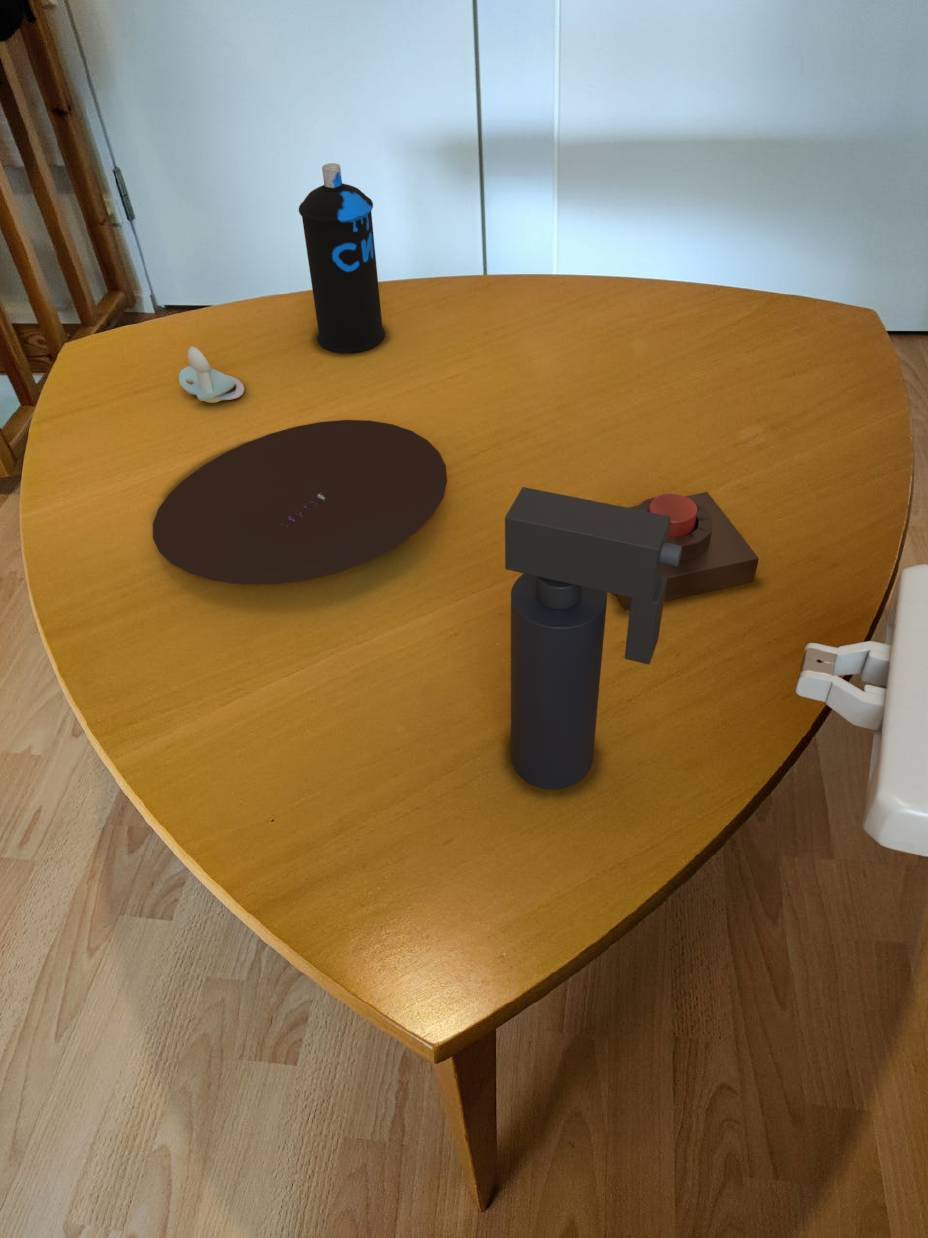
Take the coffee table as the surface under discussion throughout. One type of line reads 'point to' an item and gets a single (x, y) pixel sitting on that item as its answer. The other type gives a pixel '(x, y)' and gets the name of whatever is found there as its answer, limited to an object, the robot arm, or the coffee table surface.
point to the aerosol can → (342, 264)
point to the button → (676, 513)
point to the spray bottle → (569, 619)
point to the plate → (302, 503)
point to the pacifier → (208, 380)
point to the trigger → (645, 626)
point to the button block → (706, 554)
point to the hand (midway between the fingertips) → (800, 667)
